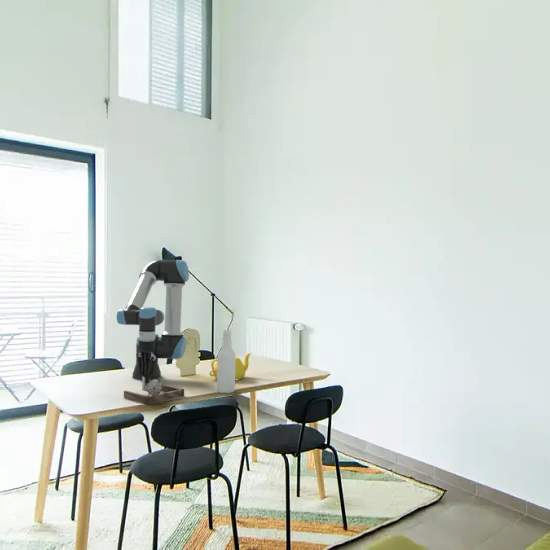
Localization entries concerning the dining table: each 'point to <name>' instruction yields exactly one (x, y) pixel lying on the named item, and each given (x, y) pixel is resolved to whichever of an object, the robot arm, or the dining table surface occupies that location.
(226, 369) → the alcohol
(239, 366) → the teapot
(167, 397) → the brown wooden bar
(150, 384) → the game die
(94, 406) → the dining table surface
